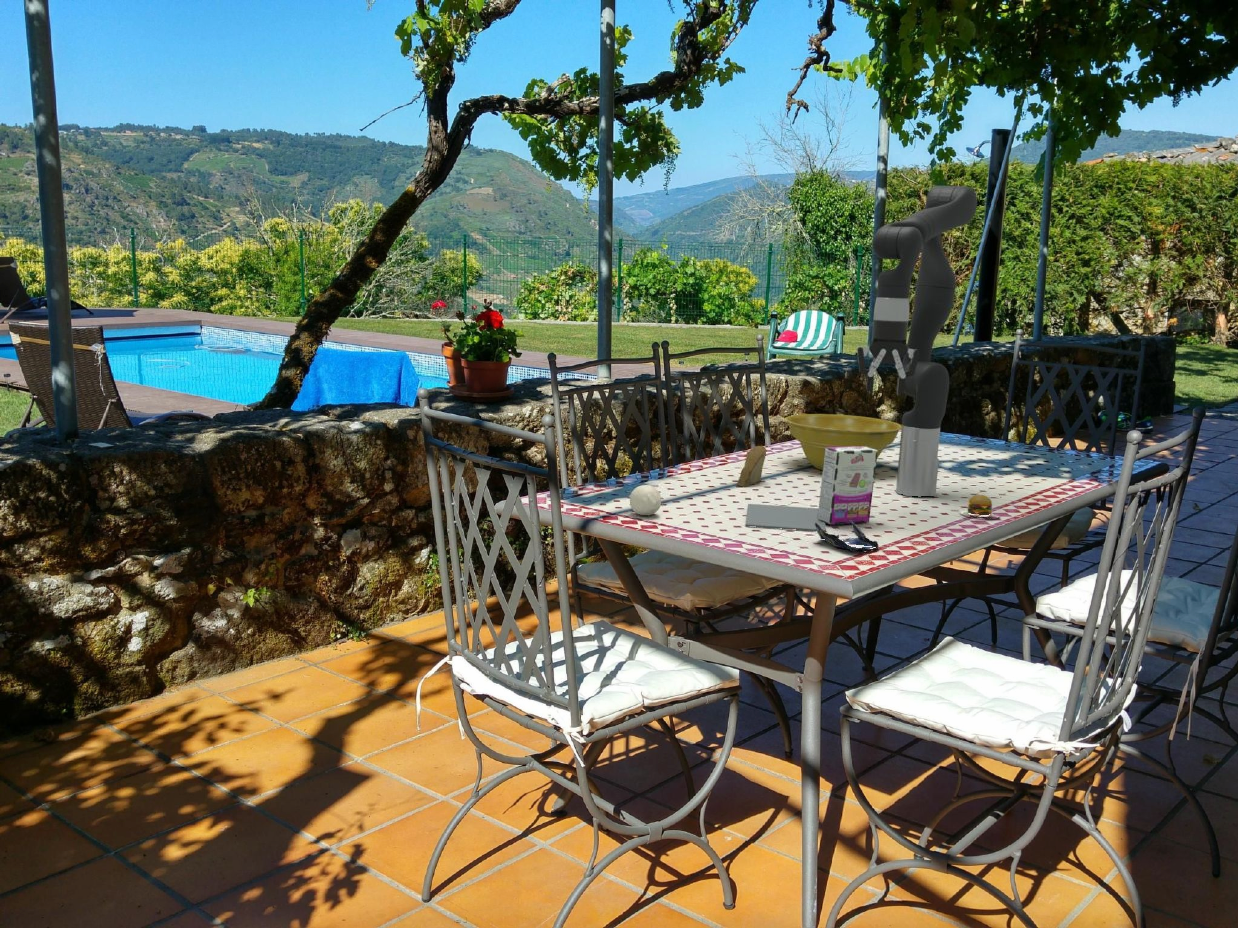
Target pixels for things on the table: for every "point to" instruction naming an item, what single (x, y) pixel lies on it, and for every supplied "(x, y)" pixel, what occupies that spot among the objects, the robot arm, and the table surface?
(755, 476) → the rock
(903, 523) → the table surface
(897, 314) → the robot arm
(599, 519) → the table surface
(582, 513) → the table surface
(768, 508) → the mat
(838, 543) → the snack package
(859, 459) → the candy bar box
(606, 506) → the table surface
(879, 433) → the planter bowl
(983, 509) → the hamburger
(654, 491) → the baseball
